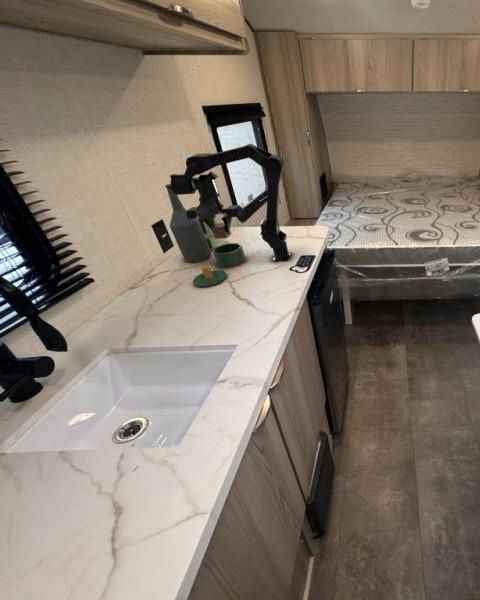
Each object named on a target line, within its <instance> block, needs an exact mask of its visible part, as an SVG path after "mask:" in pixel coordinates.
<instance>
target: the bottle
mask: <svg viewBox="0 0 480 600" xmlns="http://www.w3.org/2000/svg"><path fill="white" fill-rule="evenodd" d="M165 188H166V190H167V194H168V197H169V201H170V204H171V207H172V214H171V217H170V222H169V228H170V230H171V233H172V235H173V237H174V240H175V242H176V244H177V247H178V249H179V251H180V253H181V256H182V258H183V260H184V261H185V262H188V263H190V264H192V263H202V262H204V261H206V260H208V259H210V258H211V255H212V250H210V248H209V245H208V243H207V240H206V237H205V235H204V232H203V230H202V227H201V224H200V222H199V220H198V219H197V218H195V219H188V218H187V216H186V211H187V210H188V209H186V208H185V206H184V205H183V203H182V201H181V199H180V197H179V195H176V194H174V192H173V191H172V189H171V183H168V184H165Z"/></svg>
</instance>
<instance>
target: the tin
mask: <svg viewBox="0 0 480 600" xmlns="http://www.w3.org/2000/svg"><path fill="white" fill-rule="evenodd" d="M212 252H213V256H214V259H215V262H216V263H217V266H218V267H220V268H234V267H237V266H239V265H242V264H243V263H245V262H246V255H245V251H244V248H243V246H242V244H240V243H237V242H229V243H226V244H224V245H221V246H218V247H216V248H215V249H214V250H212Z"/></svg>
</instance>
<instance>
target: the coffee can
mask: <svg viewBox="0 0 480 600" xmlns="http://www.w3.org/2000/svg"><path fill="white" fill-rule="evenodd" d="M196 218H197V219H198V216H197V217H196ZM213 219H214V222H215V224H216V223H220V222H219V219H218V216H217V215H214V217H213ZM199 222H200V224H201V227H202V230H203V232H204V235H205V237H206V240H207V243H208V245H209V248H210V250H211V251H213V250H214V249H215V248H216V247H218V246H221V245H224V244H227V242H226V240H225V238H219V239H215V237H214V234H213V232H212V230H211V229H210V228H209V226H208V225H207V224H206V223H205V222H203V221H200V220H199Z"/></svg>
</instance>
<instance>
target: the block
mask: <svg viewBox="0 0 480 600" xmlns="http://www.w3.org/2000/svg"><path fill="white" fill-rule="evenodd" d="M211 229H212V232H213V234H214V237H215V239H219V238H224V239H227V238H229V237H230V236H231V235H232V231H231V230H230V233H229V234H228V233H227V231H226V228H225V224H224V222H219V223H216V224H215V225H213V226H212V227H211Z"/></svg>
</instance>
